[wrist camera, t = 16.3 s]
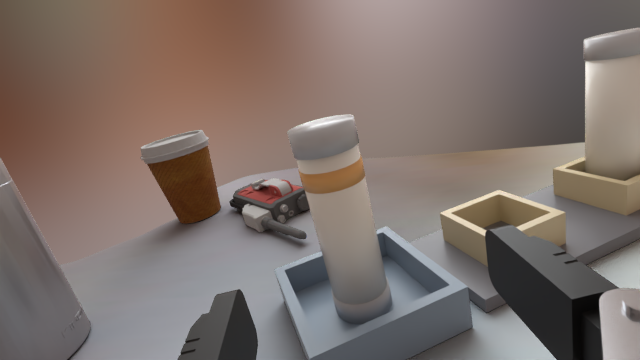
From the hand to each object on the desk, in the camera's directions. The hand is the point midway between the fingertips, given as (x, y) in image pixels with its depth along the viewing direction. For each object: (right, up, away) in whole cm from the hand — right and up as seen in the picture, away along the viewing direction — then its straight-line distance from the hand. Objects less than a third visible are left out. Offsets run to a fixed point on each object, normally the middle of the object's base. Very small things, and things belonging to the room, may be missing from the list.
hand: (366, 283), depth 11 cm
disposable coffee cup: (-20, -2, +42) cm, 47 cm away
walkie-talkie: (-7, -2, +35) cm, 36 cm away
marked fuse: (+2, -5, +13) cm, 14 cm away
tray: (+2, -6, +14) cm, 15 cm away
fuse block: (+18, -1, +18) cm, 26 cm away
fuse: (+24, +2, +19) cm, 30 cm away
